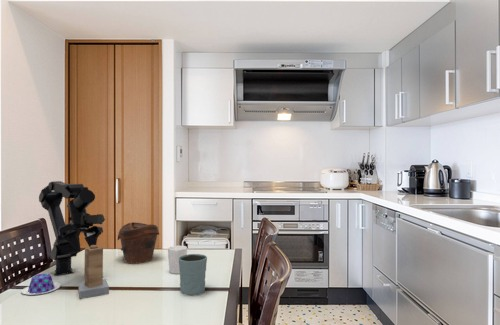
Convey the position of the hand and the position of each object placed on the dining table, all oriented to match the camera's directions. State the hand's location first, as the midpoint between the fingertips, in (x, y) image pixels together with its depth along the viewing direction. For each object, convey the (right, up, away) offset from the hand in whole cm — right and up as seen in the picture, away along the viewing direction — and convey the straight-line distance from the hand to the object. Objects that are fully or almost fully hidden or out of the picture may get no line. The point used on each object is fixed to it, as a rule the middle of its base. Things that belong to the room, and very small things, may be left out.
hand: (86, 251), depth 124 cm
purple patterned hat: (-13, -13, -6) cm, 19 cm away
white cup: (+31, -13, +15) cm, 37 cm away
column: (+6, -10, -8) cm, 14 cm away
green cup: (+41, -12, -6) cm, 44 cm away
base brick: (+6, -12, -8) cm, 16 cm away
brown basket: (+8, -13, +32) cm, 36 cm away
